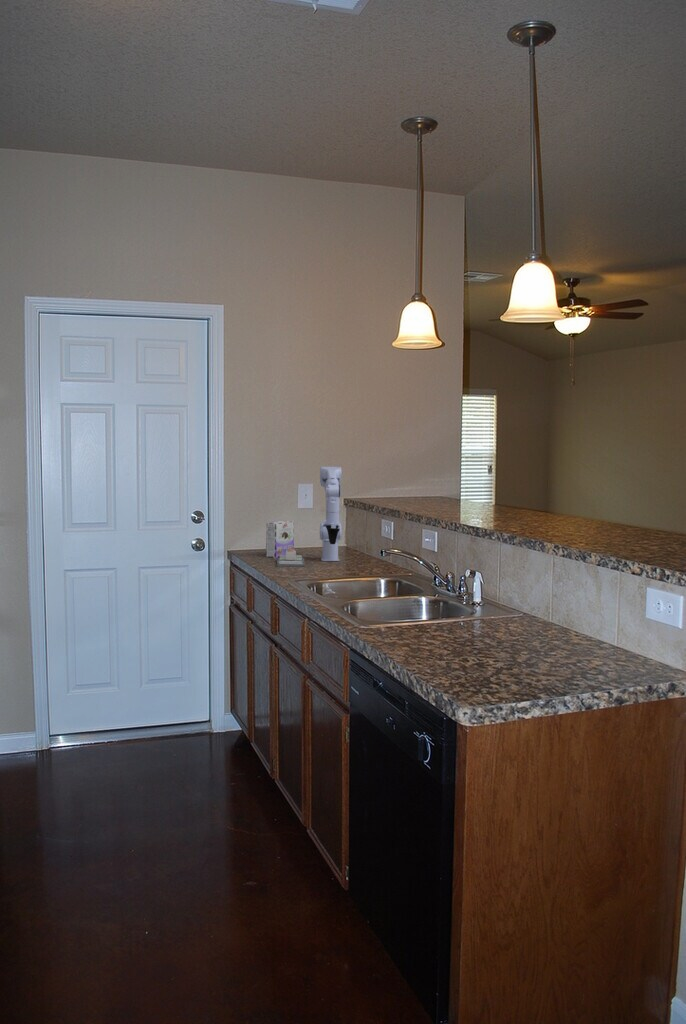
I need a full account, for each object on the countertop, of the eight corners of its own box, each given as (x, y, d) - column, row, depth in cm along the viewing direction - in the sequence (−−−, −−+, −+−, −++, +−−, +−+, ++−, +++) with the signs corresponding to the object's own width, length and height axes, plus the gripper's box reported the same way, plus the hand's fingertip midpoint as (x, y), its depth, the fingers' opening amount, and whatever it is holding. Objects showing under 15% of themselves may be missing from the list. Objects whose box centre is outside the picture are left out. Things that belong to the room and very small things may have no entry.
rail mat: (277, 559, 362) (277, 555, 362) (303, 560, 363) (304, 555, 363) (276, 566, 344) (277, 561, 344) (304, 566, 345) (304, 561, 345)
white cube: (285, 558, 359) (286, 548, 358) (295, 558, 359) (295, 548, 359) (285, 559, 354) (286, 550, 354) (295, 559, 355) (295, 550, 354)
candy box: (284, 554, 381) (285, 519, 380) (294, 555, 378) (294, 520, 376) (265, 557, 370) (266, 521, 369) (275, 558, 367) (275, 522, 365)
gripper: (322, 510, 355) (322, 540, 356) (324, 513, 340) (323, 545, 341) (338, 510, 355) (338, 540, 356) (340, 513, 341) (340, 545, 342)
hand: (332, 543), depth 349 cm, fingers open, 7 cm apart
